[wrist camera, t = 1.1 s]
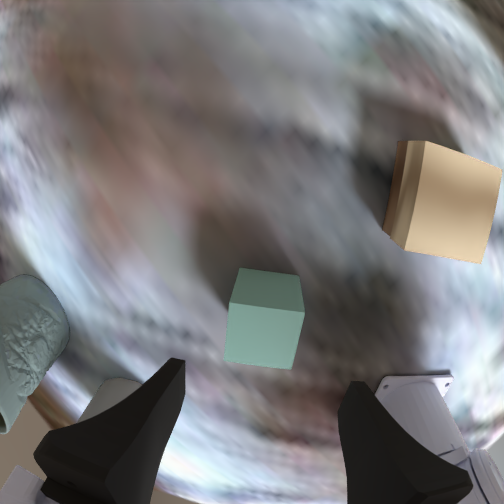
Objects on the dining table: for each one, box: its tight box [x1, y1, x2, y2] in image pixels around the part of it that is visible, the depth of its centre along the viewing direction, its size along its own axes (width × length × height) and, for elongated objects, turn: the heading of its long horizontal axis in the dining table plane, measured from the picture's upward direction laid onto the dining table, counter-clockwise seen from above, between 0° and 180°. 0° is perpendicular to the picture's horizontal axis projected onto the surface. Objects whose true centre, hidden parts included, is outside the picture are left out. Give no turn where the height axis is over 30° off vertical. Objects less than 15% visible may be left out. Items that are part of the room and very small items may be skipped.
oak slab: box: [390, 141, 502, 264], centre depth 15 cm, size 6×6×2 cm
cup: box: [77, 377, 164, 462], centre depth 22 cm, size 8×8×10 cm
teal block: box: [224, 268, 305, 370], centre depth 19 cm, size 4×4×5 cm
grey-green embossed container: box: [0, 274, 70, 434], centre depth 18 cm, size 10×10×12 cm
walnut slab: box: [382, 141, 408, 236], centre depth 17 cm, size 6×6×2 cm
